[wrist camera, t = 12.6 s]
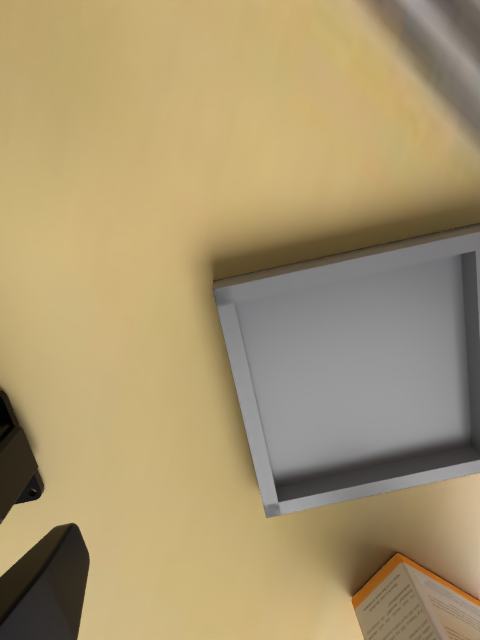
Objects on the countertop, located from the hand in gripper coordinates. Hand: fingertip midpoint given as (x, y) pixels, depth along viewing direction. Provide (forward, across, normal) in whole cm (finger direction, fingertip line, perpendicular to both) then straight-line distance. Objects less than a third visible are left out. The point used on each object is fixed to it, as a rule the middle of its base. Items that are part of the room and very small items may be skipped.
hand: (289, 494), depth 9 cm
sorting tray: (+13, -11, +4) cm, 17 cm away
